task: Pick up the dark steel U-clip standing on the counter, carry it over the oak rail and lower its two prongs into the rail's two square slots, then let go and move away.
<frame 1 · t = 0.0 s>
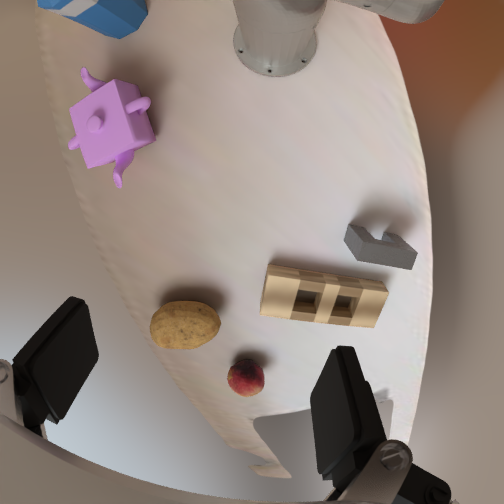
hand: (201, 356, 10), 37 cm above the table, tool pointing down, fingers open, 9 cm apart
teapot: (128, 124, 40), on the table
water bottle: (125, 18, 32), on the table
potato: (190, 311, 54), on the table
fruit: (247, 364, 59), on the table
rail: (322, 292, 50), on the table
clip: (371, 237, 46), on the table
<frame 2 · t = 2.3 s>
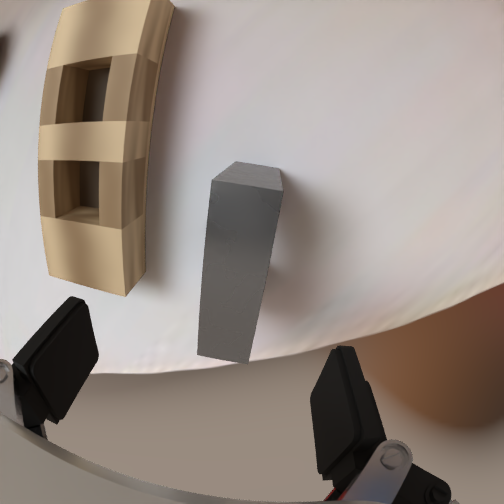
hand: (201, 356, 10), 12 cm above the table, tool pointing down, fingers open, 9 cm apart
rail: (106, 137, 18), on the table
clip: (246, 232, 21), on the table
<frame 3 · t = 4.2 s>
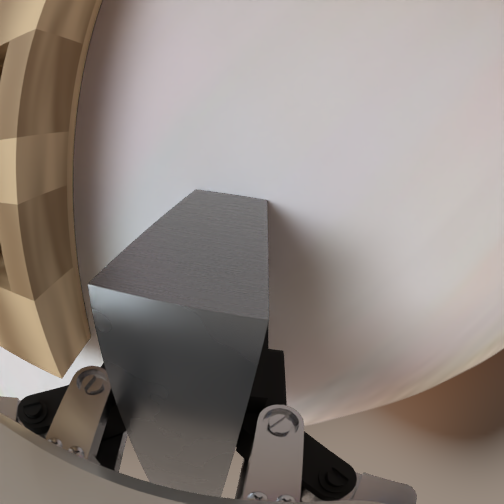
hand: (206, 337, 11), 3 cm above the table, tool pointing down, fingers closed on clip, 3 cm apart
rail: (24, 157, 11), on the table
clip: (218, 297, 13), on the table, touching gripper
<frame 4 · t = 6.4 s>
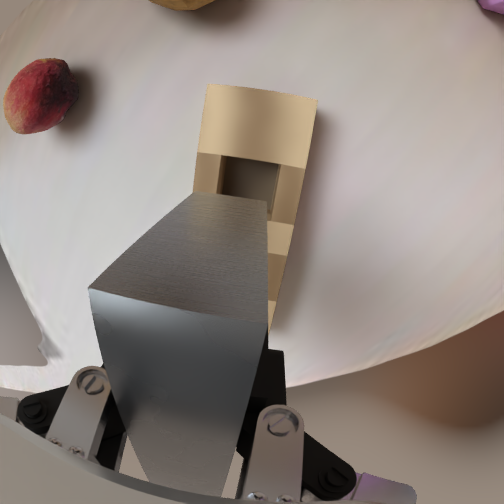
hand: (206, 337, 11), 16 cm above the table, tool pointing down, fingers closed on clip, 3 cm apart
fruit: (66, 96, 21), on the table
rail: (244, 217, 26), on the table
clip: (217, 298, 13), point 13 cm above the table, touching gripper
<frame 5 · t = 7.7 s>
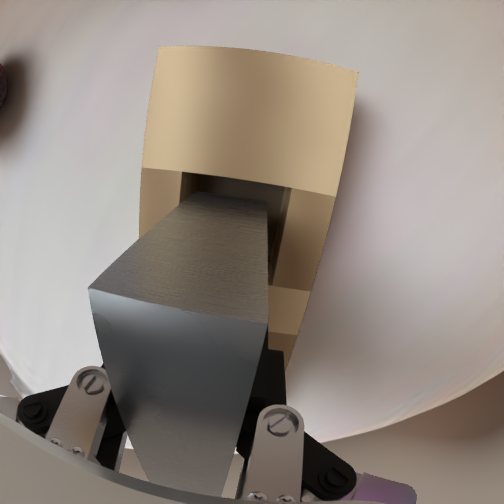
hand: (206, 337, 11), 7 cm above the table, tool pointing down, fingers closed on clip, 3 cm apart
fruit: (0, 94, 12), on the table
rail: (230, 264, 17), on the table
clip: (217, 298, 13), point 4 cm above the table, touching gripper
when the fingers open (5 cm above the table, at t = 8.5 s): clip drops 2 cm, resting on rail.
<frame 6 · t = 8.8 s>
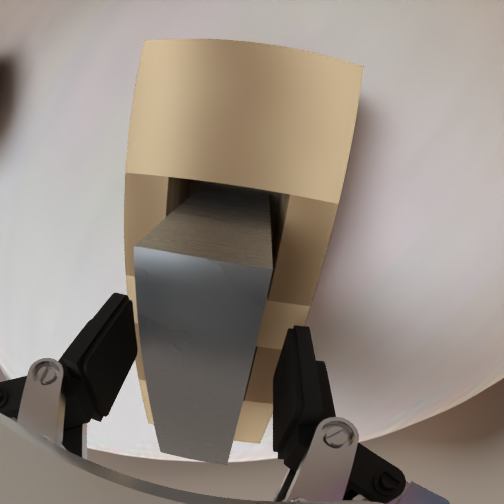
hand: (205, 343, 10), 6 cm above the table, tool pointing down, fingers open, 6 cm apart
rail: (224, 274, 16), on the table
clip: (224, 280, 15), point 1 cm above the table, touching rail
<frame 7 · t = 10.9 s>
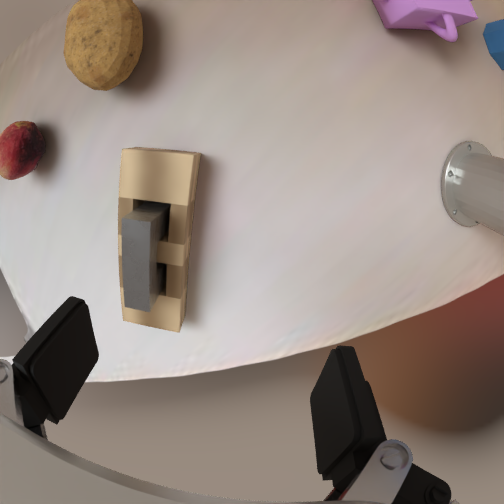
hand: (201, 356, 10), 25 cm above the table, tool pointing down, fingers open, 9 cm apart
teapot: (399, 5, 21), on the table
water bottle: (499, 48, 21), on the table
potato: (118, 48, 24), on the table
fruit: (38, 145, 29), on the table
rail: (159, 238, 34), on the table
clip: (159, 240, 33), point 1 cm above the table, touching rail
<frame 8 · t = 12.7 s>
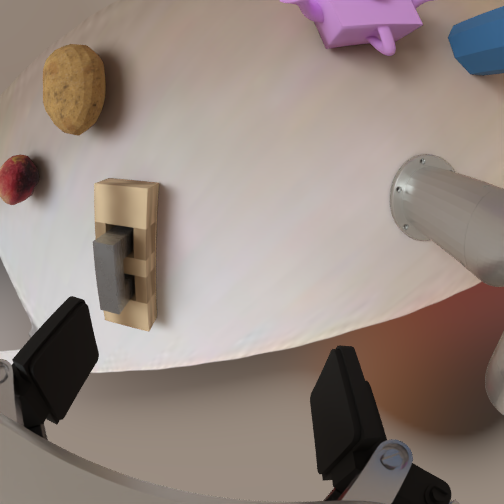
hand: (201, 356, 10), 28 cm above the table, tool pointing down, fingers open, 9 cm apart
teapot: (347, 20, 25), on the table
water bottle: (468, 50, 24), on the table
potato: (90, 91, 30), on the table
fruit: (33, 173, 35), on the table
rail: (131, 252, 40), on the table
clip: (130, 254, 39), point 1 cm above the table, touching rail
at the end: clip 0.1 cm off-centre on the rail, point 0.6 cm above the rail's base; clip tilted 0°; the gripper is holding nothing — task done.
